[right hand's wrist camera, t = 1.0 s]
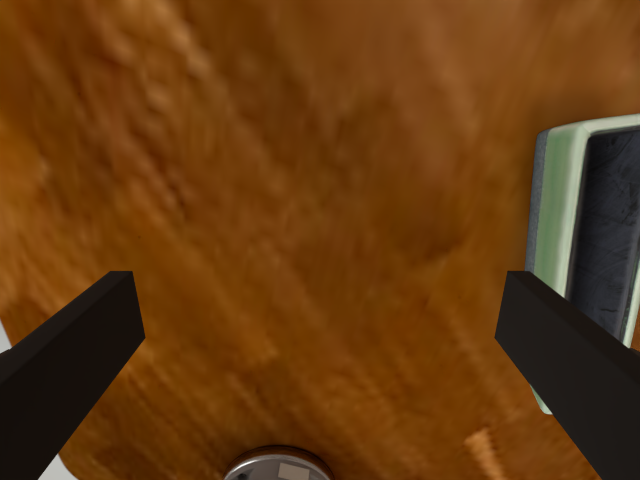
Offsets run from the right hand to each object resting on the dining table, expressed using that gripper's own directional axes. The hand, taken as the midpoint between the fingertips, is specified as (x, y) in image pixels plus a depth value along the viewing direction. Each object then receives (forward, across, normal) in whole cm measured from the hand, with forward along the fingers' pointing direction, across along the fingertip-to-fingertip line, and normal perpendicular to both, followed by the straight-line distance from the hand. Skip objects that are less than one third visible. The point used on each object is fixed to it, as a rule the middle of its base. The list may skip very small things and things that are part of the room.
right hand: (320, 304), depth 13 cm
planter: (+23, -24, +8) cm, 34 cm away
